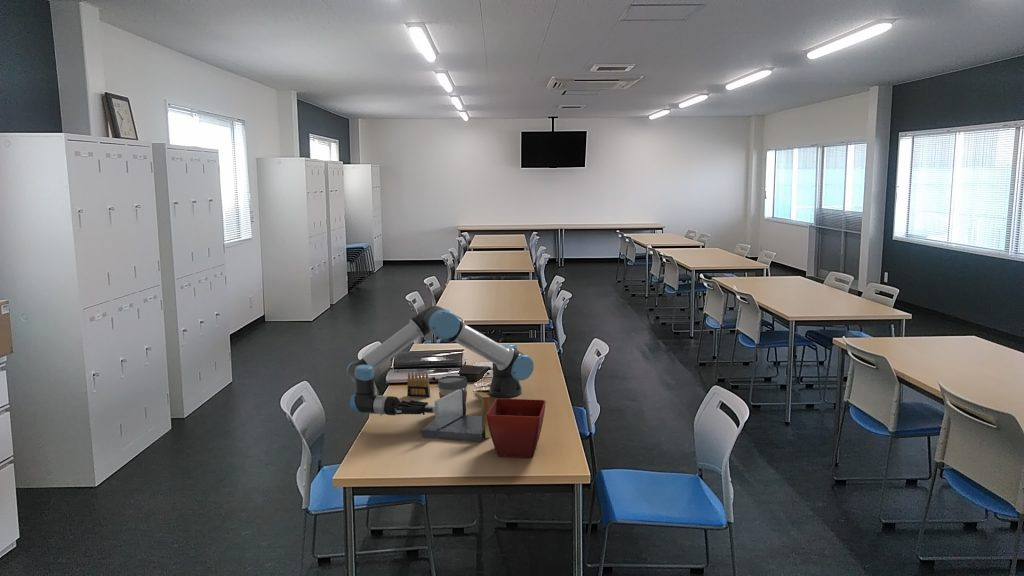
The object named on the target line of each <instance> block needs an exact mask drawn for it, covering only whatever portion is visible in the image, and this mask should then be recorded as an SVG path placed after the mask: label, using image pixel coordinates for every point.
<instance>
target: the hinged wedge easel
mask: <svg viewBox="0 0 1024 576" xmlns="http://www.w3.org/2000/svg"><path fill="white" fill-rule="evenodd" d="M434 405H435V413H434V419H435V425H436V428H437V429H440V428H442V427H443V426H445V425H447V424H449V423H451V422H452V421H454V420H456V419H458V418H460V417H461V416H464V415H467V398H466V393H465V388H459V389H458V390H456V391H454V392H452V393H450V394H448V395H446V396H444V397H442V398H440V397H439V398H438V399H435V400H434Z"/></svg>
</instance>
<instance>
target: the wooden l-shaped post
mask: <svg viewBox="0 0 1024 576" xmlns="http://www.w3.org/2000/svg"><path fill="white" fill-rule="evenodd" d="M474 397H475V398H477V399H479V400H481V401H480V402H481V416H482V430H484V440H486V439H490V438H491V434H490V430H489V426H488V421H487V413H488V411H489V409H490V408H491V395H489V394H487V393H485V392H483V391H478V392H475V393H474ZM491 439H492V438H491Z"/></svg>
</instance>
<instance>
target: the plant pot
mask: <svg viewBox="0 0 1024 576" xmlns="http://www.w3.org/2000/svg"><path fill="white" fill-rule="evenodd" d="M545 410H546V400H544V399H527V398H526V399H525V398H501V397H497V398H496V399H494V401H493V403H492V405H490V409H489V411H488V413H487V421H488V426H489V430H490V434H491V441H492V443H493V446H494V449H495V453H496V454H497V457H501V458H502V457H505V458H520V459H521V458H524V459H528V458H529V459H532V458H533V457H534V455H535V452H536V449H537V447H538V443H539V441H540V436H541V431H542V427H543V421H544V417H545V412H546V411H545Z"/></svg>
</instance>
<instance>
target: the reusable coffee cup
mask: <svg viewBox="0 0 1024 576" xmlns="http://www.w3.org/2000/svg"><path fill="white" fill-rule="evenodd" d="M437 387H438V390H439V393H438V395H439V399H440V398H442V397H444V396H446V395H448V394H450V393H452V392H454V391H456V390H458V389H459V388H465V393H466V399H467V397H468V396H467V395H468V391H467V387H468V382H467V379H466V377H463V376H446V377H442V378H440V379H439V380H437Z"/></svg>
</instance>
